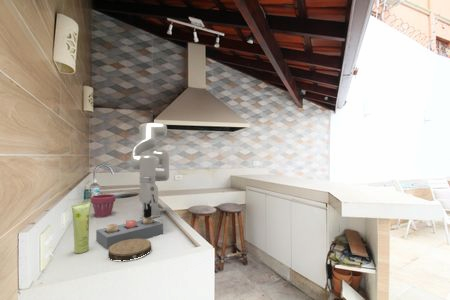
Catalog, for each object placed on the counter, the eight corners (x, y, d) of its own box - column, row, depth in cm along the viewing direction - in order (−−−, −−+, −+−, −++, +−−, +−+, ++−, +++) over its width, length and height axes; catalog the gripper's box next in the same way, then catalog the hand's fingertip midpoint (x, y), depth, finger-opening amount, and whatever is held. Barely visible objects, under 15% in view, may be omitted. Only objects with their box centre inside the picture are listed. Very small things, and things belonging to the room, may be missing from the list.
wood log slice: (104, 252, 95) (104, 244, 95) (143, 242, 104) (143, 236, 104) (113, 266, 82) (113, 258, 82) (157, 254, 92) (157, 246, 92)
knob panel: (149, 227, 125) (149, 218, 125) (163, 233, 115) (163, 223, 115) (96, 241, 106) (96, 230, 106) (107, 249, 96) (107, 237, 97)
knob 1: (115, 232, 108) (115, 223, 108) (119, 235, 105) (119, 225, 105) (105, 235, 105) (105, 225, 105) (108, 237, 101) (108, 227, 102)
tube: (85, 253, 93) (85, 204, 93) (71, 254, 92) (71, 205, 92) (90, 248, 98) (90, 201, 99) (77, 249, 97) (77, 202, 97)
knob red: (133, 228, 114) (133, 219, 114) (137, 230, 111) (137, 221, 111) (124, 230, 111) (124, 221, 111) (128, 232, 108) (128, 223, 108)
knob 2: (149, 224, 120) (149, 216, 120) (153, 226, 117) (153, 217, 117) (141, 226, 117) (141, 217, 117) (145, 228, 114) (145, 219, 114)
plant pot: (119, 214, 154) (119, 195, 155) (98, 219, 142) (98, 198, 143) (107, 211, 162) (107, 193, 162) (86, 216, 150) (86, 196, 150)
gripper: (161, 180, 115) (162, 218, 114) (147, 178, 125) (147, 213, 125) (147, 181, 109) (147, 221, 109) (133, 179, 120) (133, 215, 119)
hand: (147, 216), depth 117 cm, fingers closed
